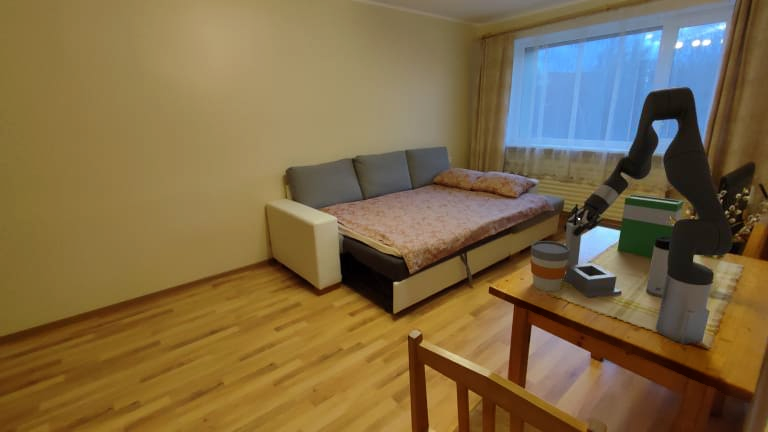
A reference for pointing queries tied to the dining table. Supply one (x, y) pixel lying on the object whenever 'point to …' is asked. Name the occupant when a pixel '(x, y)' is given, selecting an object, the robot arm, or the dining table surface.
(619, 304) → the dining table surface
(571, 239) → the vintage mobile phone
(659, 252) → the travel mug
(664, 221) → the hardback book
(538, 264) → the reusable coffee cup
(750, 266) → the dining table surface
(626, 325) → the dining table surface
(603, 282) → the box
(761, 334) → the dining table surface
